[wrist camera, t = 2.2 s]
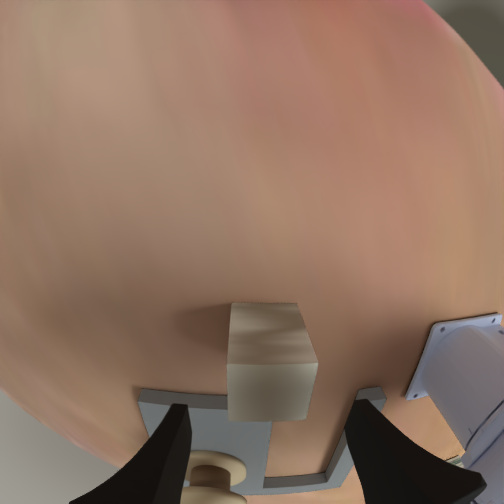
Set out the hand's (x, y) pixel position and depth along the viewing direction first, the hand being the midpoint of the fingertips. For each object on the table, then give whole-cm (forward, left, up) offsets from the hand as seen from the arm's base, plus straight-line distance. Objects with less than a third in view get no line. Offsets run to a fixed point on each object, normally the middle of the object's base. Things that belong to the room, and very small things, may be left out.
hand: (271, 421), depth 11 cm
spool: (+4, +15, -6) cm, 17 cm away
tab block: (0, 0, -8) cm, 8 cm away
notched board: (-1, +14, -8) cm, 16 cm away
